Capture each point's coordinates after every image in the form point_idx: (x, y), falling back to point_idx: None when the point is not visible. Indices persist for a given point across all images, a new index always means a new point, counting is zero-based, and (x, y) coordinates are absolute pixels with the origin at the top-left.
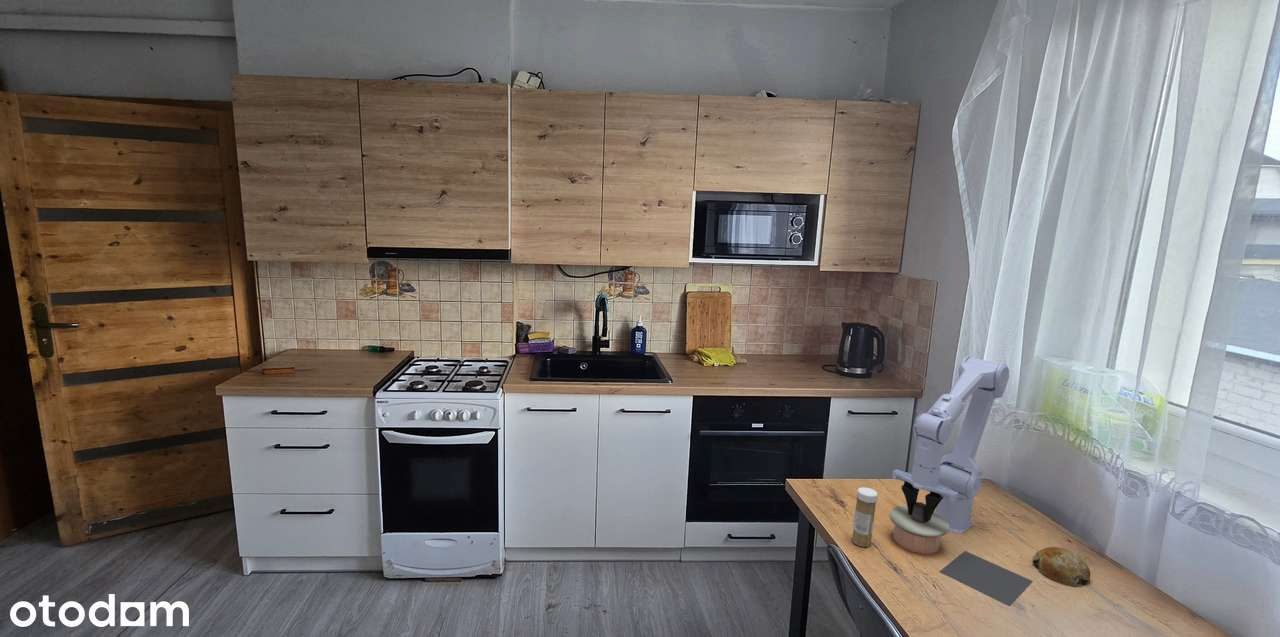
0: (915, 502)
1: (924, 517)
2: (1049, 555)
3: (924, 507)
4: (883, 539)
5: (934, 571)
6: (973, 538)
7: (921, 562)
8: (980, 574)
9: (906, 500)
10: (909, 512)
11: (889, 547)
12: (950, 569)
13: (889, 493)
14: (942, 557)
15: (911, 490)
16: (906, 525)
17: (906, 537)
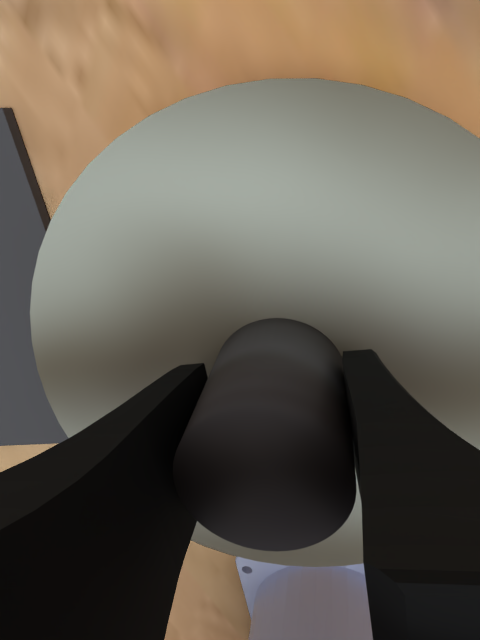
0: (350, 505)
1: (182, 374)
2: None
3: (200, 475)
4: (458, 115)
5: (37, 104)
6: (194, 568)
7: (133, 117)
8: None
9: (431, 418)
10: (358, 356)
11: (360, 55)
12: (6, 202)
13: None
14: None
15: (373, 631)
16: (255, 138)
17: None
